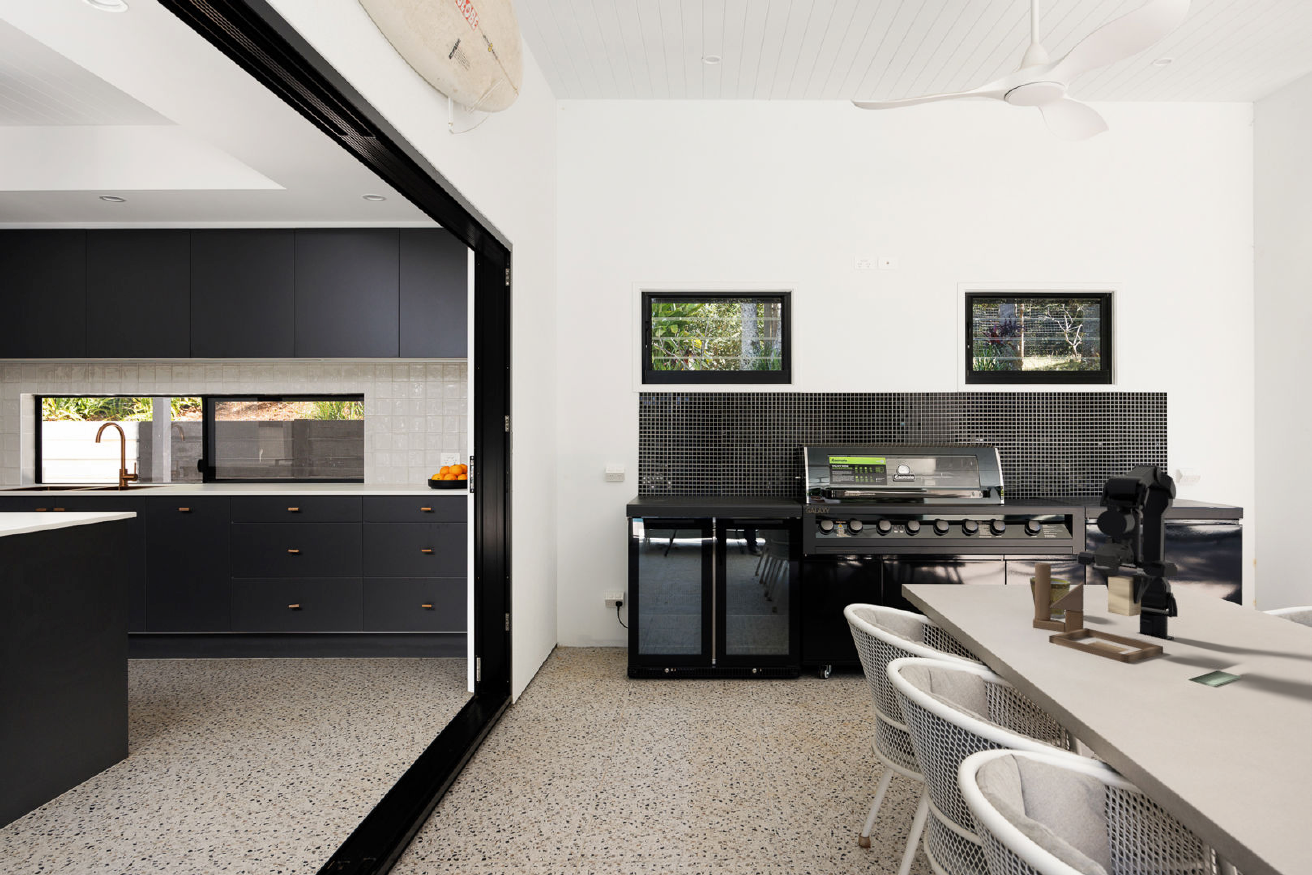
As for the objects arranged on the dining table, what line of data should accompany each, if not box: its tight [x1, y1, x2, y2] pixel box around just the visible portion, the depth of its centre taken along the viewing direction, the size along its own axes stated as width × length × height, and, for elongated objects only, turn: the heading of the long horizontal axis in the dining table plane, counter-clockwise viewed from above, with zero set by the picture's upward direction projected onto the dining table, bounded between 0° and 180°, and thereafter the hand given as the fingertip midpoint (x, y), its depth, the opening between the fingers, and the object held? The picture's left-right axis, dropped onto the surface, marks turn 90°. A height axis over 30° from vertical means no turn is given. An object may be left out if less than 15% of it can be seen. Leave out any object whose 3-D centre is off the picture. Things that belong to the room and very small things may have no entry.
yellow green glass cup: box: [1029, 576, 1071, 619], centre depth 197 cm, size 13×10×10 cm
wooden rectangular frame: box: [1048, 627, 1164, 664], centre depth 160 cm, size 15×17×3 cm
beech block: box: [1107, 575, 1141, 618], centre depth 157 cm, size 4×4×8 cm
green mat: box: [1187, 670, 1241, 688], centre depth 146 cm, size 11×11×1 cm
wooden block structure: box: [1032, 561, 1085, 633], centre depth 175 cm, size 4×11×18 cm, turn 52°
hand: (1124, 601), depth 157 cm, fingers closed on beech block, 4 cm apart
